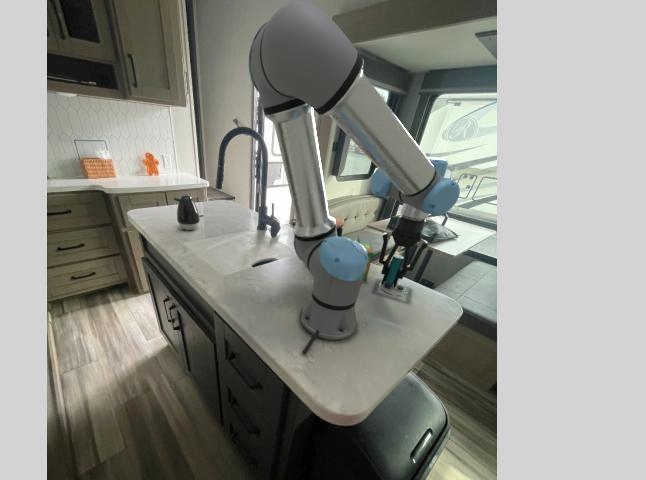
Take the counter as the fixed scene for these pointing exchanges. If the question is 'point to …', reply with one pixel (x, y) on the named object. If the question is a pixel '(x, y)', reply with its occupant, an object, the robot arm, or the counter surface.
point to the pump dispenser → (187, 213)
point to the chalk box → (370, 255)
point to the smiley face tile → (392, 294)
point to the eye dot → (400, 287)
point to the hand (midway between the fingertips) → (388, 284)
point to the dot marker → (393, 270)
